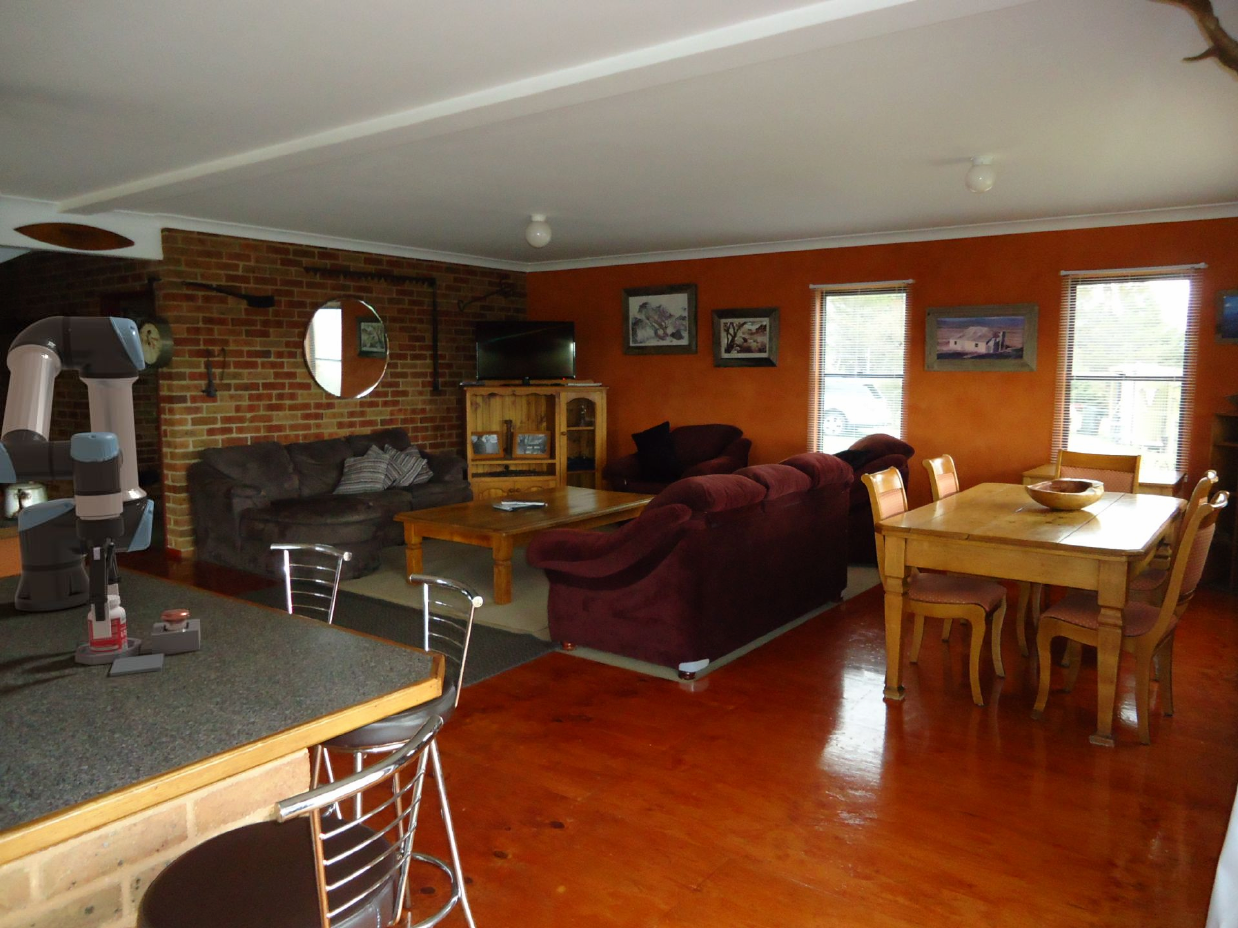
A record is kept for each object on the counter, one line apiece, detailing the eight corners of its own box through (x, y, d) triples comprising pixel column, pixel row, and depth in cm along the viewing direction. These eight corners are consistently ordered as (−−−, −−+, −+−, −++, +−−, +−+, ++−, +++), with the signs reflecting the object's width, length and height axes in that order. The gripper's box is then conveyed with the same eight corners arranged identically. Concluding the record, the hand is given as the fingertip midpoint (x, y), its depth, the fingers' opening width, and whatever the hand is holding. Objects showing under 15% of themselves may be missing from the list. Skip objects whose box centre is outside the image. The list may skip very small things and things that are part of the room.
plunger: (164, 640, 170) (162, 610, 169) (191, 637, 172) (189, 607, 171) (162, 647, 165) (160, 617, 165) (190, 644, 167) (188, 614, 167)
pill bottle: (129, 656, 163) (125, 599, 162) (91, 662, 160) (87, 604, 158) (126, 647, 168) (122, 591, 167) (89, 652, 165) (85, 596, 164)
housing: (81, 649, 167) (80, 629, 166) (200, 636, 175) (199, 616, 174) (72, 667, 157) (71, 646, 157) (199, 652, 166) (198, 631, 165)
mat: (115, 661, 160) (115, 658, 160) (164, 655, 163) (163, 652, 163) (109, 676, 153) (109, 673, 153) (161, 669, 156) (160, 666, 156)
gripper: (86, 507, 170) (93, 612, 173) (64, 529, 148) (73, 649, 150) (129, 504, 174) (136, 607, 176) (114, 525, 151) (122, 643, 153)
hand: (107, 627), depth 163 cm, fingers open, 13 cm apart
